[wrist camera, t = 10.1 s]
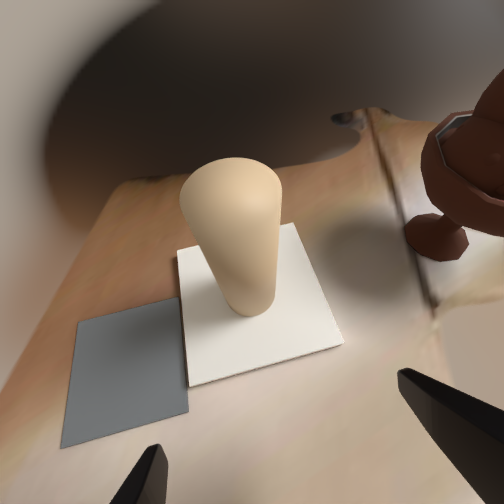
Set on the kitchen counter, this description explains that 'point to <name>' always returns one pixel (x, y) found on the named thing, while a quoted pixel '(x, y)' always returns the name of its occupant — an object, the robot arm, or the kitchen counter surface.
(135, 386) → the mat
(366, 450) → the kitchen counter surface
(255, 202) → the tan tapered rounded piece
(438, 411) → the robot arm
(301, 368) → the kitchen counter surface
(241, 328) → the cutting board
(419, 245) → the ice cream bowl
